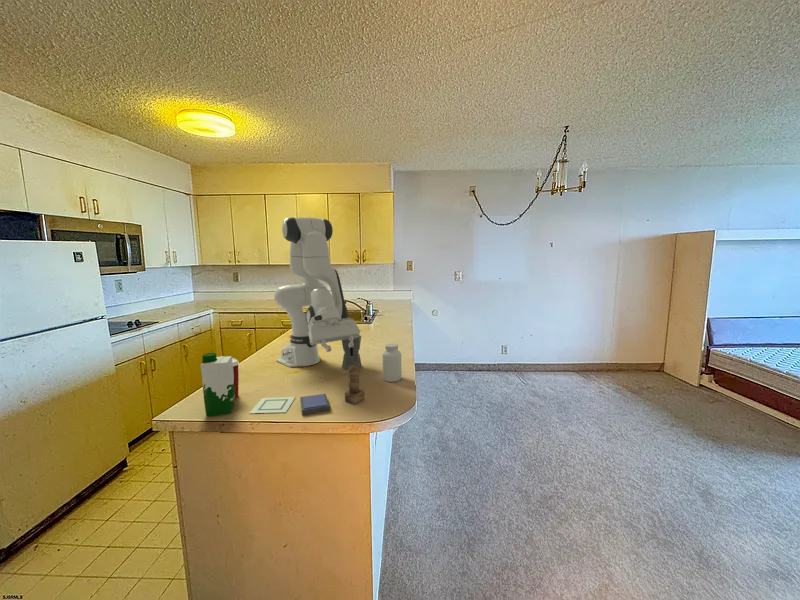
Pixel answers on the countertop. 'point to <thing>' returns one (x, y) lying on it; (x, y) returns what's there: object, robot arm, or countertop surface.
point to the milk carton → (217, 384)
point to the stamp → (354, 386)
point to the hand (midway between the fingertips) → (340, 348)
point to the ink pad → (314, 404)
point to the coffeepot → (351, 353)
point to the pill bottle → (391, 363)
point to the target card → (273, 405)
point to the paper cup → (235, 375)
